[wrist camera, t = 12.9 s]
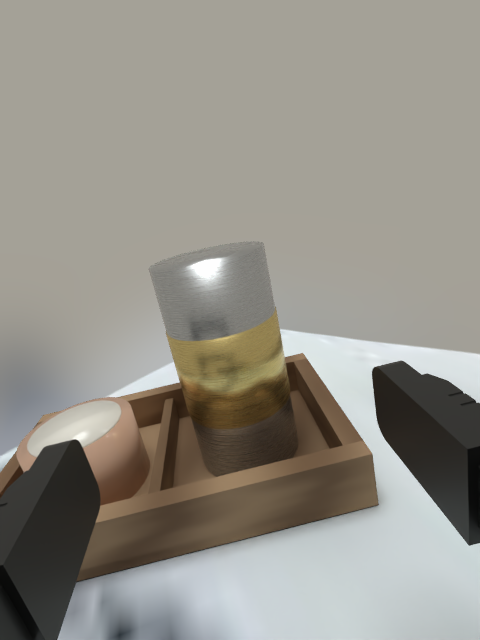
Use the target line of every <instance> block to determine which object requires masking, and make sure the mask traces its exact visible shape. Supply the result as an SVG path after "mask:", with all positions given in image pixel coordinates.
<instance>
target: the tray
mask: <svg viewBox="0 0 480 640" xmlns="http://www.w3.org/2000/svg"><path fill="white" fill-rule="evenodd" d="M285 362H286V368H287V374H288V379H289V385H290V396H291V401H292V407H293V412H294V418H295V424H296V429H297V435H298V448H297V451H296V453H295V455H294V457H293V458H291V459H287V460H283V461H279V462H275V463H271V464H267V465H263V466H258V467H254V468H250V469H246V470H242V471H238V472H234V473H230V474H226V475H222V476H218V477H216V476H214V475H213V474H212V473H210V472H209V471H208V469H207V468H206V466H205V465H204V462H203V458H202V455H201V451H200V448H199V444H198V441H197V437H196V434H195V430H194V427H193V423H192V420H191V417H190V415H189V412H188V409H187V405H186V402H185V398H184V395H183V391H182V388H181V384H180V383H176V384H172V385H167V386H163V387H159V388H155V389H151V390H147V391H142V392H138V393H134V394H130V395H126V396H121V397H117V398H121V399H124V400H126V401H127V402H129V404H130V405H131V408H132V411H133V414H134V417H135V419H136V422H137V425H138V428H139V431H140V434H141V437H142V439H143V442H144V445H145V448H146V451H147V454H148V457H149V460H150V470H149V474H148V476H147V479H146V480H145V482H144V484H143V485H142V486H141V488H140V489H139V490H138V491H137V492H136V494H135V495H134V496H133V497H132V498H130V499H126V500H122V501H118V502H113V503H109V504H105V505H101V506H100V510H99V513H98V517H97V520H96V523H95V526H94V529H93V532H92V535H91V538H90V541H89V544H88V547H87V550H86V553H85V556H84V559H83V562H82V565H81V568H80V571H79V575H78V578H77V581H81V580H85V579H89V578H93V577H96V576H100V575H104V574H108V573H112V572H116V571H120V570H124V569H128V568H132V567H136V566H140V565H144V564H148V563H151V562H155V561H159V560H163V559H167V558H171V557H175V556H179V555H183V554H187V553H191V552H195V551H199V550H203V549H207V548H210V547H214V546H218V545H222V544H226V543H230V542H234V541H238V540H242V539H246V538H250V537H254V536H258V535H262V534H265V533H269V532H273V531H277V530H281V529H285V528H289V527H293V526H297V525H301V524H305V523H309V522H313V521H317V520H321V519H324V518H328V517H332V516H336V515H340V514H344V513H348V512H352V511H356V510H360V509H364V508H368V507H372V506H376V505H378V498H377V489H376V481H375V472H374V464H373V455H372V453H371V451H370V450H369V448H368V447H367V445H366V444H365V442H364V441H363V440H362V438H361V437H360V435H359V434H358V432H357V431H356V429H355V428H354V426H353V425H352V424H351V422H350V421H349V419H348V418H347V416H346V415H345V413H344V412H343V411H342V409H341V408H340V406H339V405H338V403H337V402H336V400H335V399H334V397H333V396H332V395H331V393H330V392H329V390H328V389H327V387H326V386H325V384H324V383H323V381H322V380H321V379H320V377H319V376H318V374H317V373H316V371H315V370H314V368H313V367H312V366H311V364H310V363H309V361H308V360H307V358H306V357H305V355H304V354H303V353H301V354H297V355H293V356H289V357H285ZM59 412H61V411H59ZM59 412H54V413H50V414H46V415H43V416H42V418H41V419H40V420H39V422H38V423H37V425H36V426H38V425H39V424H40V423H42V422H43V421H45V420H46V419H48V418H50V417H51V416H53V415H55V414H57V413H59ZM36 426H35V427H36ZM35 427H34V428H35ZM34 428H33V429H34ZM16 452H17V451H16ZM23 473H24V472H23V470H22V468H21V466H20V464H19V462H18V460H17V457H16V453H15V454H14V455H13V457H12V458H11V459H10V461H9V462H8V463H7V465H6V466H5V467H4V469H3V470H2V471H1V473H0V498H1V497H2V495H3V494H4V492H5V491H6V489H7V488H8V487H9V486H10V485H11V484H12V483H13V482H14V481H16V480H17V479H18V478H19V477H20V476H21V475H22V474H23ZM77 581H76V582H77Z"/></svg>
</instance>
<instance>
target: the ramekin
mask: <svg viewBox="0 0 480 640" xmlns="http://www.w3.org/2000/svg"><path fill="white" fill-rule="evenodd" d="M73 439H76V440H78V441H79V442H80V443H81V445H82V447H83V449H84V452H85V454H86V457H87V459H88V462H89V464H90V466H91V469H92V471H93V474H94V476H95V478H96V481H97V483H98V486H99V490H100V498H101V502H100V506H101V505H105V504H109V503H113V502H118V501H122V500H126V499H130V498H132V497H133V496H134V495H135V494H136V492H137V491H138V490H139V489H140V488H141V486H142V485H143V484H144V482H145V480H146V479H147V476H148V474H149V470H150V460H149V457H148V454H147V451H146V448H145V445H144V442H143V439H142V437H141V434H140V431H139V428H138V425H137V422H136V419H135V417H134V414H133V411H132V408H131V405H130V404H129V402H127V401H126V400H124V399H121V398H115V397H107V398H99V399H94V400H90V401H86V402H83V403H80V404H77V405H74V406H72V407H69V408H67V409H65V410H63V411H61V412H59V413H57V414H55V415H53V416H51V417H50V418H48V419H46V420H45V421H43V422H42V423H40V424H39V425H38V426H36V427H35V428H34V429H33V430H32V431H30V432H29V434H28V435H26V436H25V438H24V439H23V440H22V442H21V443H20V444H19V446H18V448H17V452H16V457H17V460H18V462H19V464H20V466H21V468H22V470H23V472H25V471H28V470H29V469H30V467H31V466H32V464H33V463H34V461H35V460H36V458H37V457H38V455H39V454H40V452H41V450H42V449H43V448H44V447H45V446H48V445H52V444H57V443H61V442H65V441H69V440H73Z"/></svg>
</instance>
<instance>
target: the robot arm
mask: <svg viewBox="0 0 480 640" xmlns="http://www.w3.org/2000/svg"><path fill="white" fill-rule="evenodd" d="M372 379H373V388H374V398H375V407H376V416H377V421H378V425H379V428H380V430H381V433H382V435H383V437H384V438H385V440H386V441H387V442H388V444H389V445H390V446H391V448H392V449H393V450H394V451H395V453H396V454H397V455H398V456H399V458H400V459H401V460H402V461H403V463H404V464H405V465H406V466H407V468H408V469H409V470H410V472H411V473H412V474H413V475H414V477H415V478H416V479H417V480H418V482H419V483H420V484H421V485H422V487H423V488H424V489H425V491H426V492H427V493H428V494H429V496H430V497H431V498H432V499H433V501H434V502H435V503H436V504H437V506H438V507H439V508H440V509H441V511H442V512H443V513H444V515H445V516H446V517H447V518H448V520H449V521H450V522H451V523H452V525H453V526H454V527H455V528H456V530H457V531H458V532H459V533H460V535H461V536H462V537H463V539H464V540H465V541H466V542H467V544H468V545H469V546H470V545H473V544H477V543H480V403H476V401H475V400H474V399H473V398H471V397H470V396H469V395H467V394H463V391H462V390H460V389H459V388H457V387H456V386H454V385H453V384H452V383H450V382H449V381H447V380H444V379H441V378H439V377H436V376H433V375H430V374H424V375H421V374H420V373H418V372H417V371H416V370H415V369H413V368H412V367H411V366H409V365H408V364H407V363H405V362H404V361H398V362H394V363H389V364H385V365H381V366H377V367H374V368H373V371H372ZM100 502H101V498H100V490H99V486H98V483H97V481H96V478H95V476H94V474H93V471H92V469H91V466H90V464H89V462H88V459H87V457H86V454H85V452H84V449H83V447H82V445H81V443H80V442H79V441H78V440H76V439H73V440H69V441H65V442H61V443H57V444H52V445H48V446H45V447H44V448H43V449H42V450H41V452H40V454H39V455H38V457H37V458H36V460H35V461H34V463H33V464H32V466H31V467H30V469H29V470H28V471H25V472H24V473H23V474H22V475H21V476H20V477H19V478H18V479H17V480H16V481H14V482H13V483H12V484H11V485H10V486H9V487H8V488H7V489H6V491H5V492H4V494H3V495H2V497H1V498H0V640H57V639H58V636H59V632H60V629H61V626H62V623H63V620H64V617H65V614H66V611H67V608H68V605H69V602H70V599H71V596H72V593H73V590H74V587H75V584H76V581H77V578H78V575H79V571H80V568H81V565H82V562H83V559H84V556H85V553H86V550H87V547H88V544H89V541H90V538H91V535H92V532H93V529H94V526H95V523H96V520H97V517H98V513H99V510H100Z"/></svg>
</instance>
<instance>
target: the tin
mask: <svg viewBox="0 0 480 640" xmlns="http://www.w3.org/2000/svg"><path fill="white" fill-rule="evenodd" d="M149 271H150V275H151V278H152V282H153V285H154V288H155V292H156V296H157V300H158V303H159V307H160V310H161V313H162V317H163V320H164V324H165V328H166V335H167V338H168V342H169V345H170V349H171V352H172V356H173V359H174V363H175V367H176V370H177V374H178V377H179V381H180V384H181V388H182V391H183V395H184V398H185V402H186V405H187V409H188V412H189V415H190V417H191V420H192V423H193V427H194V430H195V434H196V437H197V441H198V444H199V448H200V451H201V455H202V458H203V462H204V465H205V466H206V468H207V469H208V471H209V472H210V473H212V474H213V475H214V476H216V477H218V476H222V475H226V474H230V473H234V472H238V471H242V470H246V469H250V468H254V467H258V466H263V465H267V464H271V463H275V462H279V461H283V460H287V459H291V458H293V457H294V455H295V453H296V451H297V448H298V435H297V429H296V424H295V418H294V412H293V407H292V401H291V396H290V385H289V379H288V374H287V368H286V362H285V357H284V351H283V345H282V340H281V334H280V328H279V323H278V317H277V311H276V307H275V305H274V300H273V294H272V288H271V284H270V277H269V272H268V267H267V261H266V255H265V249H264V244H263V243H262V242H240V243H232V244H225V245H220V246H215V247H209V248H204V249H200V250H196V251H192V252H188V253H184V254H181V255H177V256H174V257H171V258H168V259H165V260H162V261H160V262H158V263H155V264H154V265H152V266H150V268H149Z"/></svg>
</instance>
